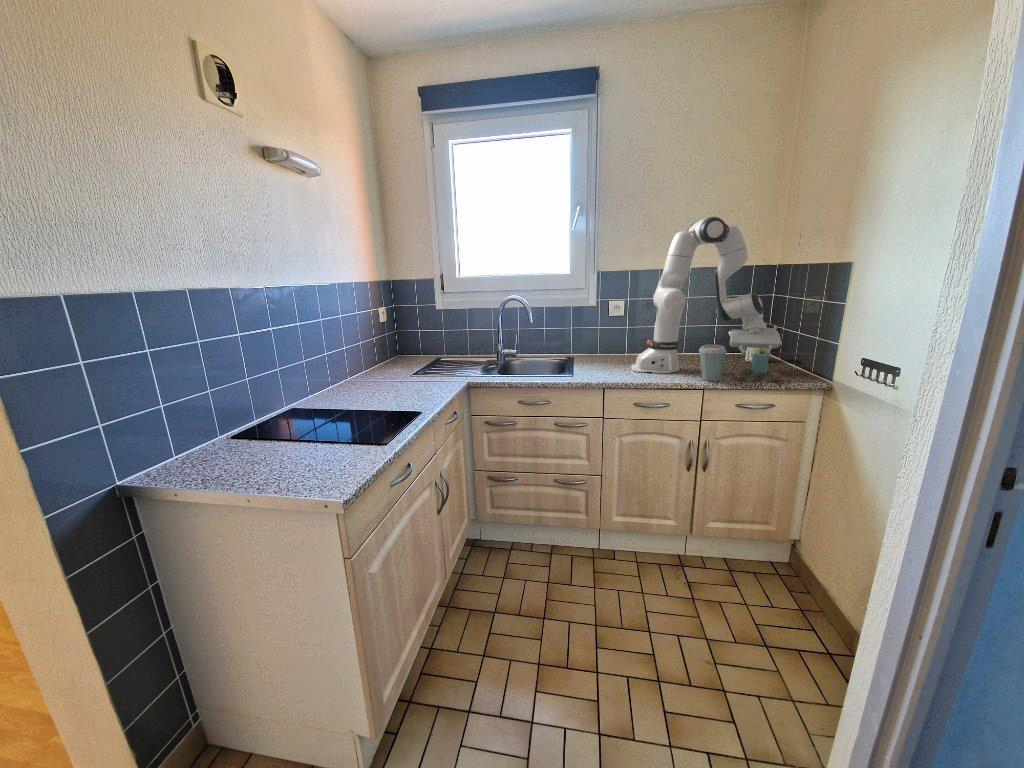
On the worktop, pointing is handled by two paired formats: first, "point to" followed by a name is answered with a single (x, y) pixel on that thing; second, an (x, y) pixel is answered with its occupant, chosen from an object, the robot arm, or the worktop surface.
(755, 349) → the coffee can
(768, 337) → the robot arm
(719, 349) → the disposable coffee cup
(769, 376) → the base board
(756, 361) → the pillar
